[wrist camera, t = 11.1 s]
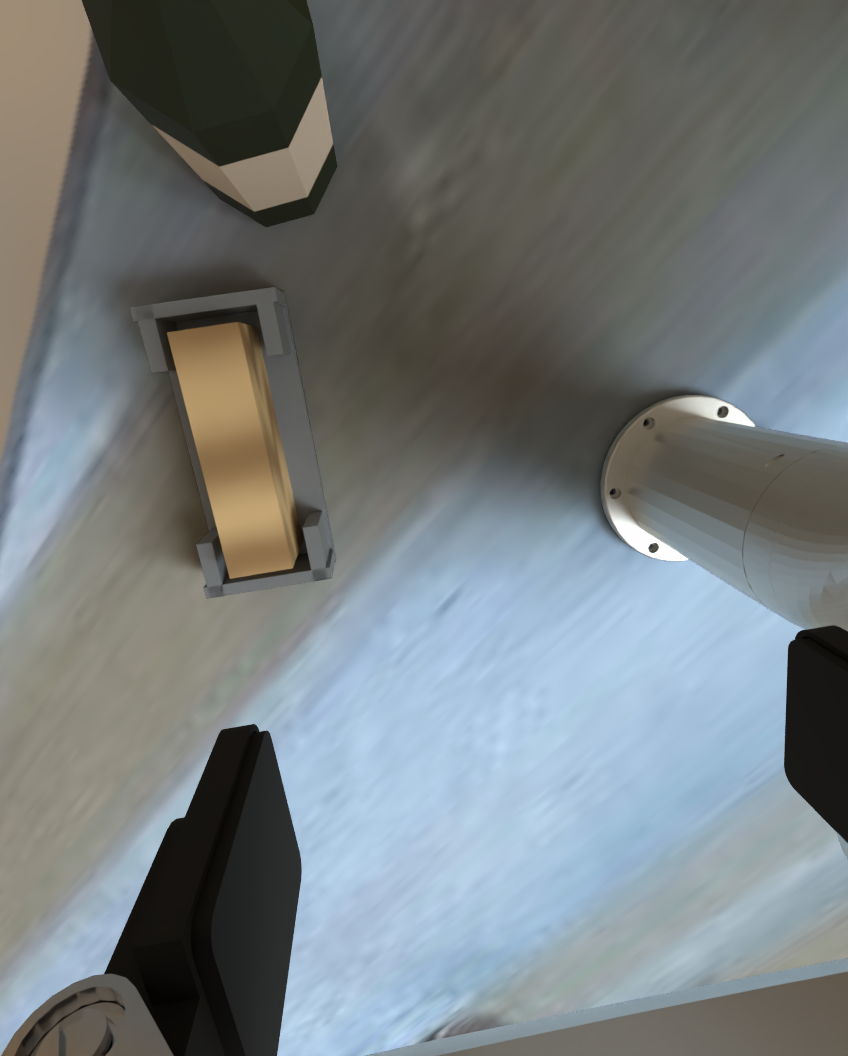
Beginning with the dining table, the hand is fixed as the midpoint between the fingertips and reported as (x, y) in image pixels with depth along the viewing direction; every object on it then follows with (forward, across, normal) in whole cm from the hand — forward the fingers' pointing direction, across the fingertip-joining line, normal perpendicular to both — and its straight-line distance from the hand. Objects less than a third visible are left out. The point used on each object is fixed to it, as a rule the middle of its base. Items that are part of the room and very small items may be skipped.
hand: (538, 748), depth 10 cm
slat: (+34, +11, -2) cm, 35 cm away
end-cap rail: (+34, +11, -2) cm, 36 cm away
